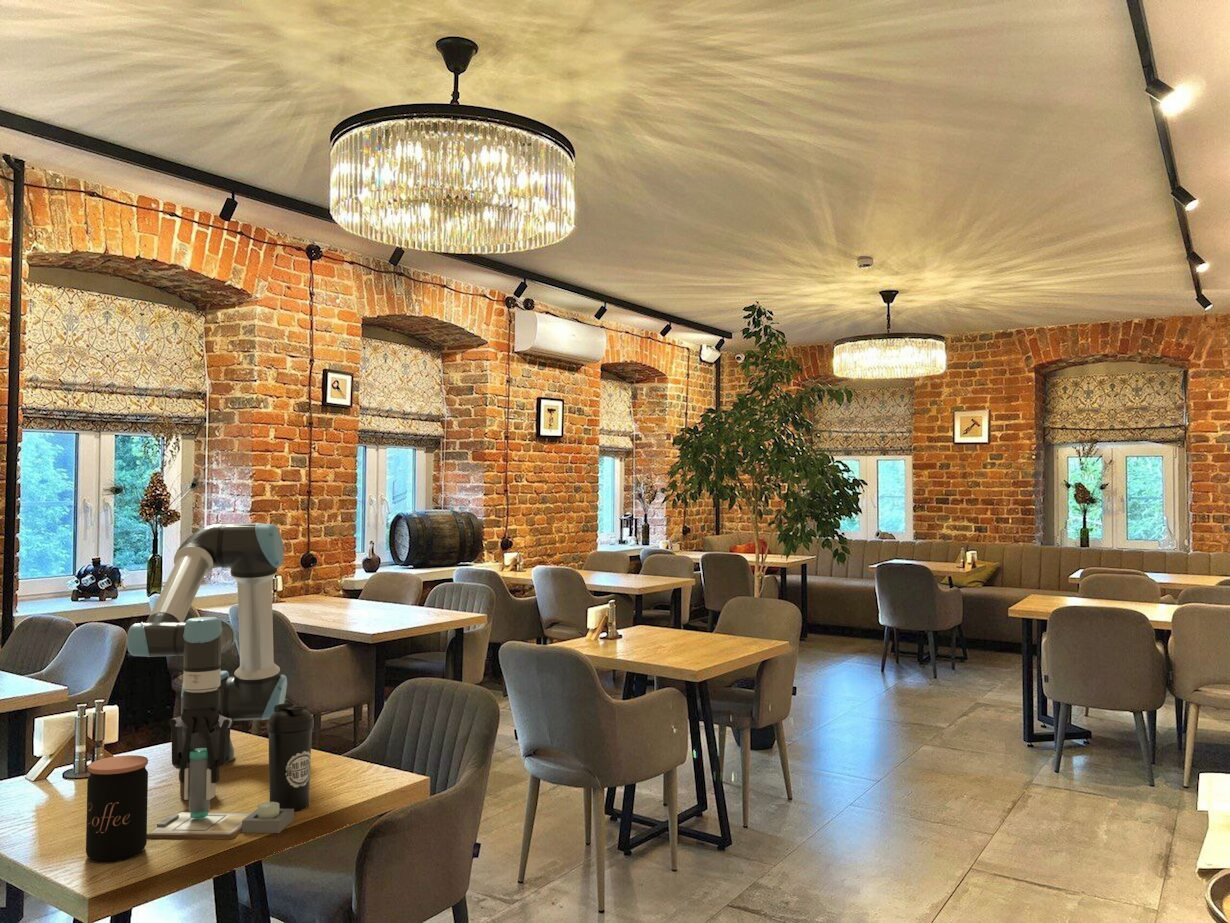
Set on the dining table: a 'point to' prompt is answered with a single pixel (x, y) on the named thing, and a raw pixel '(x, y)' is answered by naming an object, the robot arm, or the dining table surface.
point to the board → (199, 826)
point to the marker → (198, 783)
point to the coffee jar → (116, 808)
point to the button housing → (267, 822)
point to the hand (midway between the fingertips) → (199, 797)
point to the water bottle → (290, 756)
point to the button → (268, 810)
